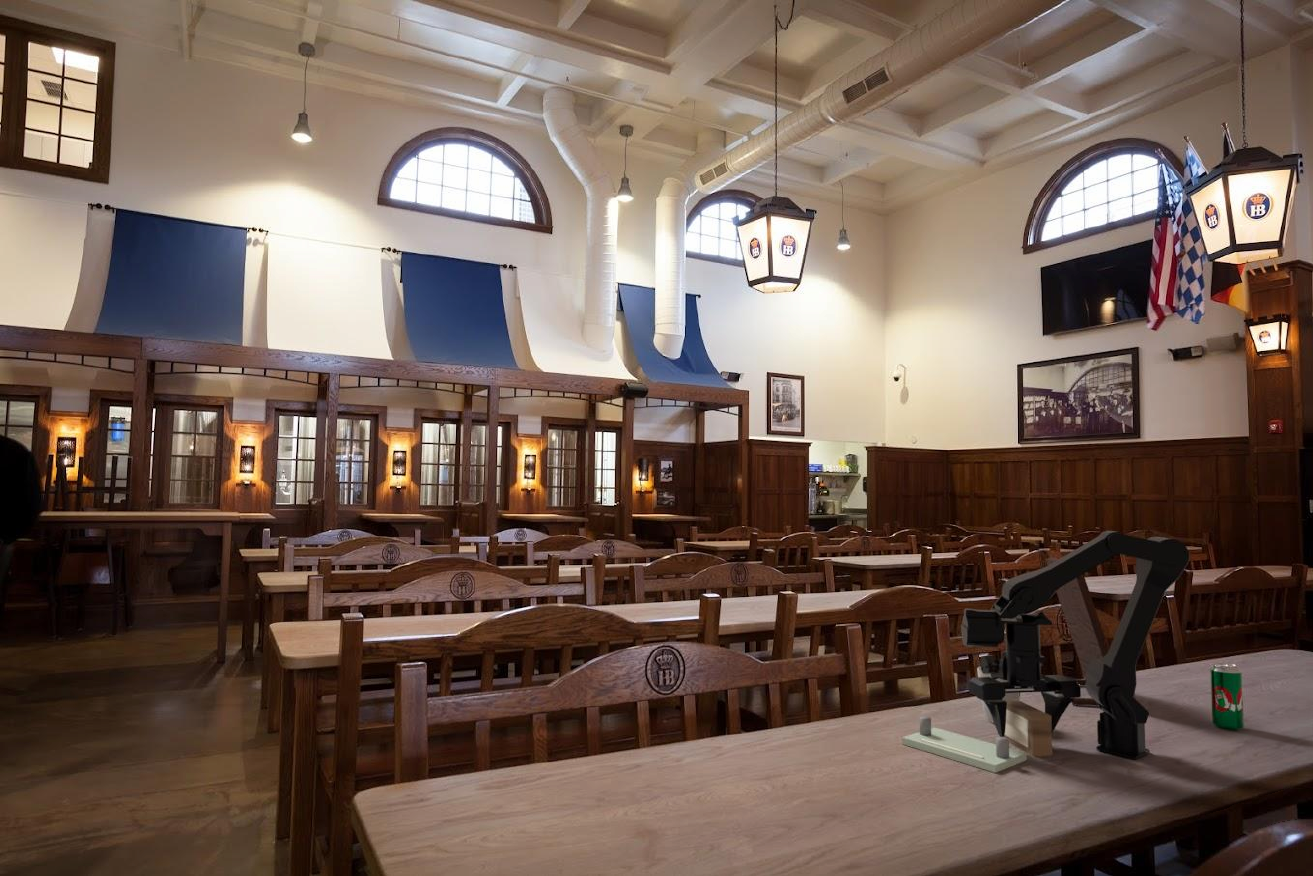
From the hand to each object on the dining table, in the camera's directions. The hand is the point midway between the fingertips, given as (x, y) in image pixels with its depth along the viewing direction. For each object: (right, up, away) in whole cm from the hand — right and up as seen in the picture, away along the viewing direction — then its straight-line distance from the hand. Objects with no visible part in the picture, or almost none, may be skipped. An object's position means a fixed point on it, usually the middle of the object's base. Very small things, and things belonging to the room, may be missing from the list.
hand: (1025, 735), depth 143 cm
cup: (+2, -3, +15) cm, 16 cm away
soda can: (+45, -3, +11) cm, 47 cm away
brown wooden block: (0, -2, 0) cm, 2 cm away
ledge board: (-13, -2, -3) cm, 13 cm away
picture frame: (+30, -4, +35) cm, 46 cm away
